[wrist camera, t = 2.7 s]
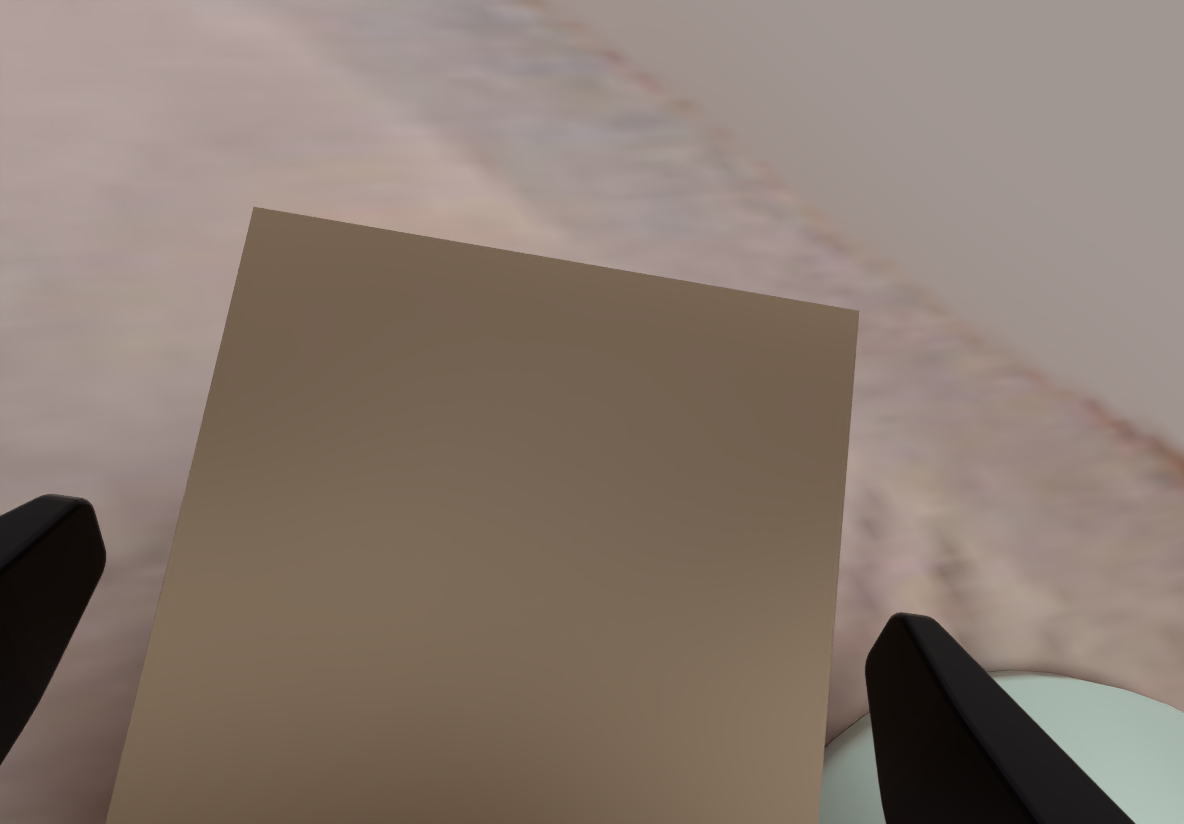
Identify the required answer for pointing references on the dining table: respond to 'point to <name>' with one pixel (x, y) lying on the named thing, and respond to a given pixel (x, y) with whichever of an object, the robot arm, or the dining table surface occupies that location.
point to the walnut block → (497, 546)
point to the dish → (1074, 721)
